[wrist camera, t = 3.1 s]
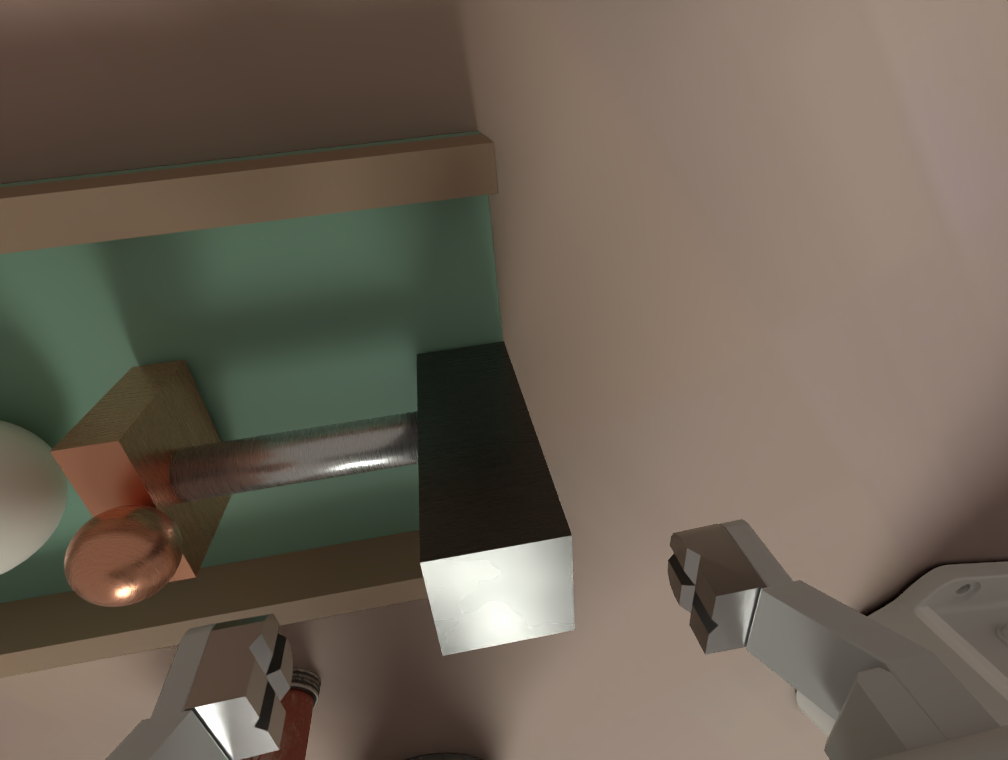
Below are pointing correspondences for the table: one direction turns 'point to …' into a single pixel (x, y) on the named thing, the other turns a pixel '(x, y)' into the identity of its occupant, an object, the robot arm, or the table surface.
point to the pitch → (244, 359)
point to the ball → (27, 494)
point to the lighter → (296, 717)
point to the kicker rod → (327, 454)
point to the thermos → (445, 757)
